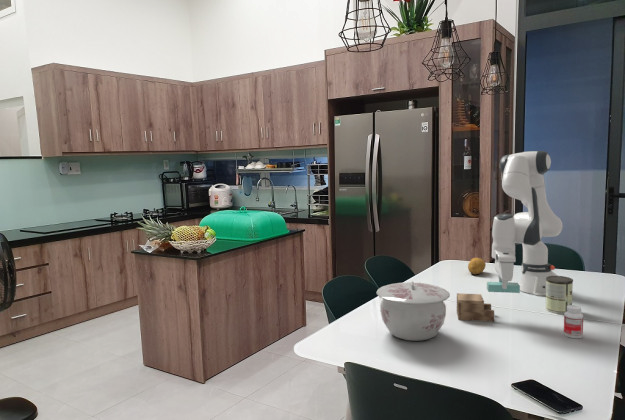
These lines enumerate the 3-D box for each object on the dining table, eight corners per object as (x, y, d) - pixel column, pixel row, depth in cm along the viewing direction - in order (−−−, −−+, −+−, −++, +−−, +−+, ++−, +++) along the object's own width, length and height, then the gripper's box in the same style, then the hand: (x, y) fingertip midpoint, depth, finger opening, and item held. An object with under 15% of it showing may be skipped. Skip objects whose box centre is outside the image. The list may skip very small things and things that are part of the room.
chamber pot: (407, 355, 156) (407, 296, 154) (363, 330, 180) (362, 279, 178) (466, 338, 169) (467, 284, 167) (417, 317, 193) (417, 269, 191)
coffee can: (544, 305, 204) (545, 274, 202) (570, 307, 199) (571, 276, 198) (545, 312, 194) (546, 280, 193) (573, 315, 190) (574, 282, 189)
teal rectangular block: (488, 291, 187) (488, 284, 187) (486, 288, 192) (486, 281, 192) (519, 293, 184) (519, 285, 184) (517, 289, 189) (517, 282, 189)
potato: (463, 258, 261) (479, 259, 255) (472, 256, 271) (488, 256, 265) (464, 275, 261) (480, 276, 255) (473, 271, 271) (489, 272, 265)
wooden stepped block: (490, 313, 195) (490, 294, 194) (494, 321, 185) (494, 301, 185) (456, 312, 198) (456, 293, 197) (458, 319, 189) (458, 300, 188)
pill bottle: (570, 331, 173) (571, 303, 172) (586, 336, 167) (587, 307, 166) (559, 334, 170) (560, 306, 169) (575, 340, 164) (576, 310, 163)
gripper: (491, 248, 197) (491, 279, 199) (499, 258, 177) (498, 292, 179) (507, 248, 196) (506, 280, 197) (516, 258, 176) (515, 293, 177)
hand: (502, 286), depth 188 cm, fingers closed on teal rectangular block, 5 cm apart
